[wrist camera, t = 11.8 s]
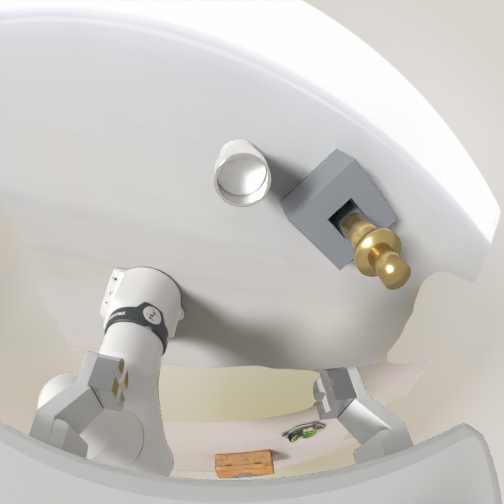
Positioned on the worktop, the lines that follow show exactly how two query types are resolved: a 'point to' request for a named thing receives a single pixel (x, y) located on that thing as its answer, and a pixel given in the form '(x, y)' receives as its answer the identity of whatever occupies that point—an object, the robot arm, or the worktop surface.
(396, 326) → the worktop surface
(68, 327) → the worktop surface
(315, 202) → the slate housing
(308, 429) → the salad plate
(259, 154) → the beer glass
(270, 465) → the wooden box
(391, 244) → the brass knob plunger
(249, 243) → the worktop surface
